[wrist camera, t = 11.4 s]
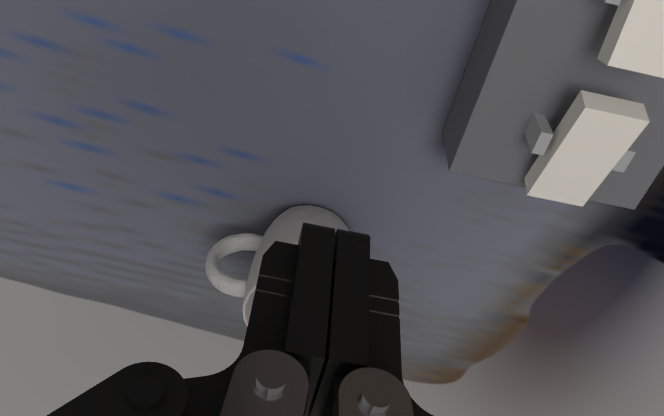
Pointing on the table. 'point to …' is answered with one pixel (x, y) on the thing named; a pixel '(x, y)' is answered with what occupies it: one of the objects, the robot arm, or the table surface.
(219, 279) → the mug
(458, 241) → the table surface
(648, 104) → the switch unit
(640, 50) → the rocker middle
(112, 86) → the table surface
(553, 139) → the rocker
